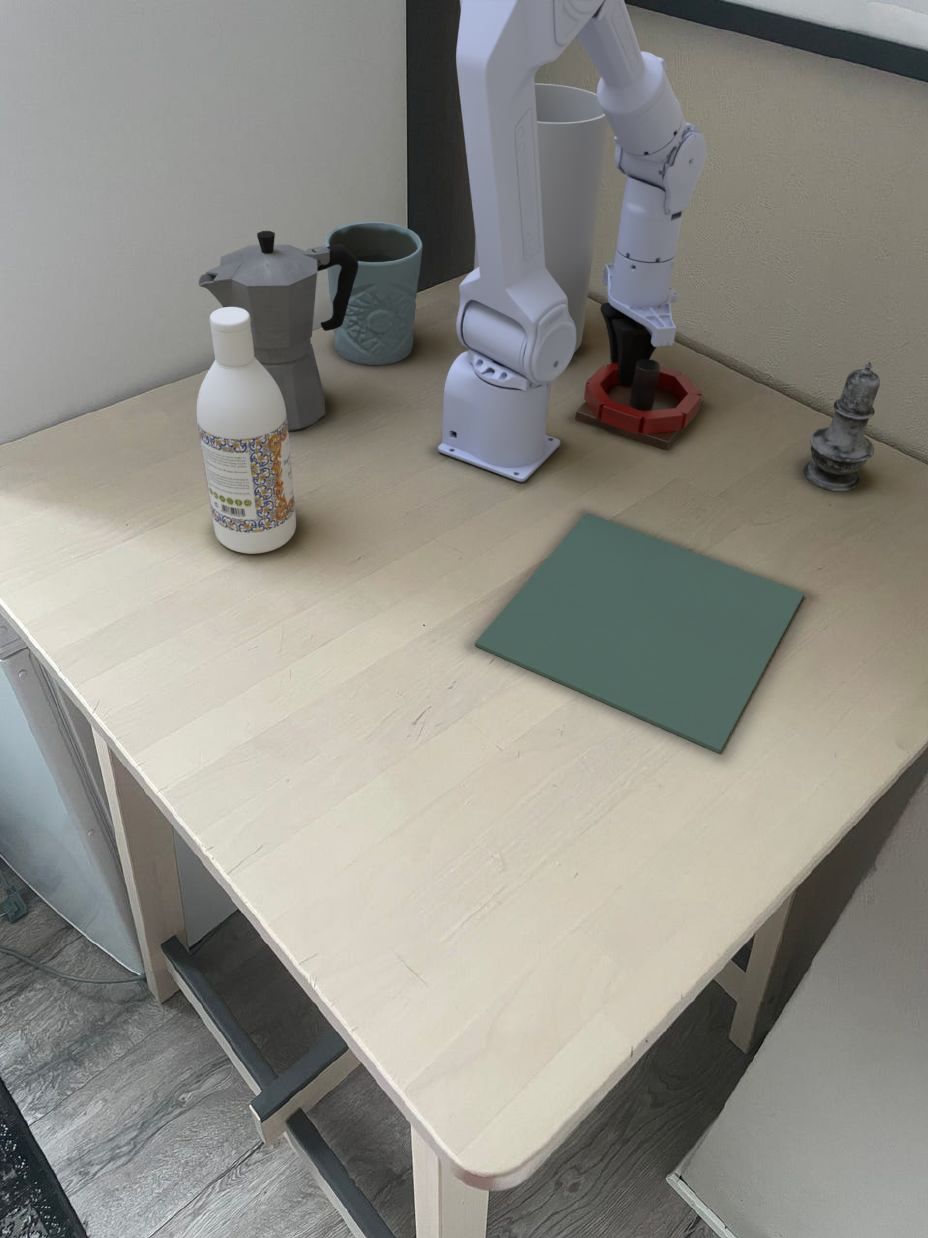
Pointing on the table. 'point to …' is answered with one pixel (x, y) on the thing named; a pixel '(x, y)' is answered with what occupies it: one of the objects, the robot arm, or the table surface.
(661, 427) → the ring
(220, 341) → the bath foam
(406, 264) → the teal embossed mug
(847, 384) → the salt shaker
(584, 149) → the cylinder vase
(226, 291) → the coffeepot
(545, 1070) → the table surface
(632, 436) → the ring holder
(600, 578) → the mat
